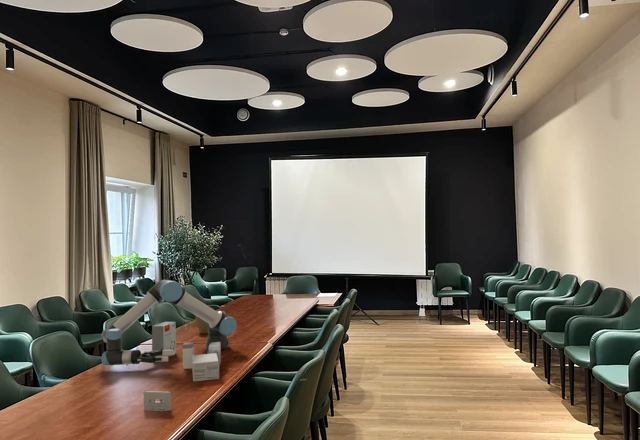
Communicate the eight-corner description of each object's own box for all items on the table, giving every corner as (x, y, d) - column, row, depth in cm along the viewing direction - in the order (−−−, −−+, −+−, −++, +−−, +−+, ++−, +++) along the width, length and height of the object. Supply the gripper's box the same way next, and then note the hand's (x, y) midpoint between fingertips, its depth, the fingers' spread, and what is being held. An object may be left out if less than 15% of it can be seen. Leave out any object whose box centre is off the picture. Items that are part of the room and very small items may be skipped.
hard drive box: (163, 360, 282) (162, 326, 283) (151, 359, 284) (151, 326, 285) (176, 353, 298) (175, 321, 298) (165, 353, 299) (164, 321, 300)
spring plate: (202, 366, 262) (202, 351, 262) (205, 362, 270) (205, 348, 270) (205, 366, 262) (204, 351, 262) (207, 362, 270) (207, 348, 270)
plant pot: (218, 331, 363) (218, 310, 364) (204, 335, 351) (204, 313, 351) (205, 329, 371) (204, 309, 372) (190, 333, 359) (189, 312, 359)
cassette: (172, 409, 200) (171, 391, 200) (170, 411, 198) (169, 392, 198) (145, 409, 202) (145, 390, 202) (143, 410, 200) (142, 392, 200)
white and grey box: (183, 368, 262) (182, 344, 262) (185, 366, 268) (184, 342, 268) (199, 367, 263) (199, 344, 263) (201, 365, 268) (200, 341, 269)
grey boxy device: (201, 368, 260) (201, 346, 261) (204, 363, 271) (204, 342, 271) (218, 368, 261) (217, 346, 261) (220, 363, 271) (220, 341, 272)
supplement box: (192, 372, 254) (191, 355, 255) (217, 370, 258) (217, 352, 258) (192, 382, 238) (192, 363, 238) (219, 379, 242) (218, 360, 242)
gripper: (139, 358, 276) (176, 356, 277) (124, 370, 251) (165, 368, 252) (139, 345, 276) (176, 343, 277) (124, 356, 251) (165, 354, 252)
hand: (171, 355), depth 265 cm, fingers open, 13 cm apart
